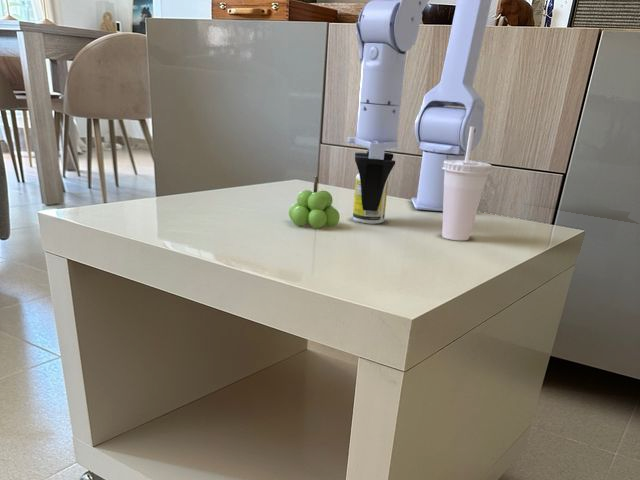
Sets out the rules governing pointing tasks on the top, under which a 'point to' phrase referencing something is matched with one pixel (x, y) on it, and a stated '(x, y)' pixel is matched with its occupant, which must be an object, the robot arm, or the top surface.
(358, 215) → the supplement bottle
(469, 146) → the smoothie
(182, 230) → the top surface
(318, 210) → the grapes
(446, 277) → the top surface
